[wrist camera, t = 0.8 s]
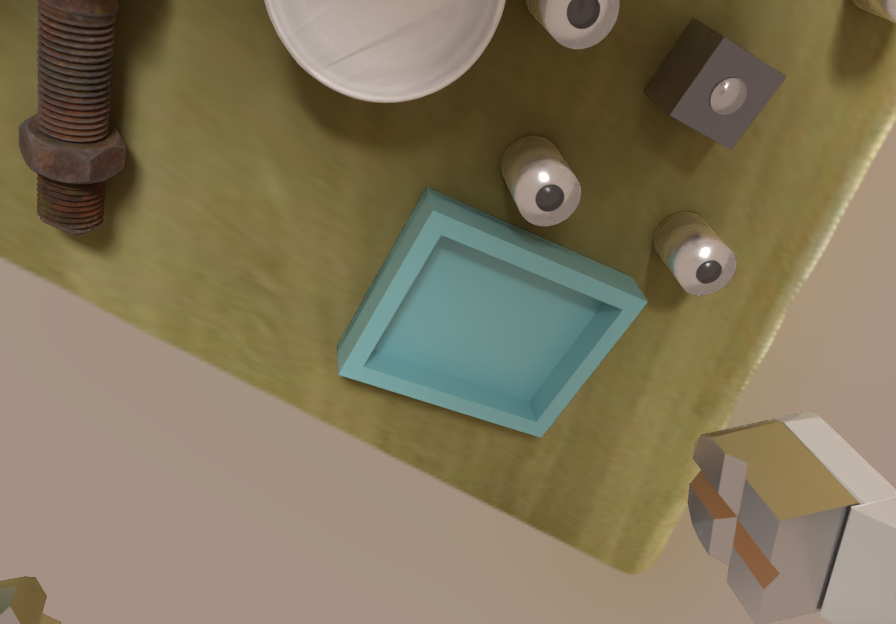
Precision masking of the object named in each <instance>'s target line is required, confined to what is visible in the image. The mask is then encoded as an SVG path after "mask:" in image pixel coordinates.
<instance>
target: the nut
mask: <svg viewBox="0 0 896 624" xmlns="http://www.w3.org/2000/svg"><path fill="white" fill-rule="evenodd" d="M786 77H787V76H785V75H783V74H782V73H780V72H779V71H777V70H776V69H774V68H772V67H771V66H769V65H768V64H766V63H765V62H763V61H761V60H760V59H758V58H757V57H755V56H754V55H752V54H750V53H749V52H747V51H746V50H744V49H743V48H741V47H739V46H738V45H736V44H735V43H733V42H732V41H730V40H728V39H727V38H725V37H724V36H722V35H721V34H719V33H717V32H716V31H714V30H712V29H711V28H709V27H708V26H706V25H704V24H703V23H701V22H699V21H698V20H696V19H695V18H692V20H691V21H690V23H689V24H688V26H687V27H686V29H685V30H684V32H683V33H682V35H681V36H680V38H679V39H678V41H677V42H676V44H675V45H674V47H673V48H672V49H671V51H670V52H669V54H668V55H667V57H666V58H665V60H664V61H663V63H662V64H661V66H660V67H659V69H658V70H657V72H656V73H655V75H654V76H653V78H652V79H651V81H650V82H649V84H648V85H647V87H646V88H645V90H644V92H645V93H646V94H647V95H648V96H649V97H650V98H651V99H652V100H653V101H654V102H655V103H657V104H658V105H659V106H660V107H661V108H662V109H663V110H664V111H665V112H666V113H667V114H668V115H669V116H671V117H673V118H675V119H677V120H678V121H680V122H682V123H684V124H686V125H687V126H689V127H691V128H693V129H694V130H696V131H698V132H700V133H702V134H703V135H705V136H707V137H709V138H711V139H712V140H714V141H716V142H718V143H720V144H721V145H723V146H725V147H727V148H728V149H730V150H731V149H732V148H733V147H734V145H735V144H736V143H737V141H738V140H739V139H740V137H741V136H742V135H743V133H744V132H745V131H746V129H747V128H748V127H749V125H750V124H751V123H752V121H753V120H754V119H755V118H756V116H757V115H758V114H759V112H760V111H761V110H762V108H763V107H764V106H765V104H766V103H767V102H768V100H769V99H770V98H771V96H772V95H773V94H774V92H775V91H776V90H777V89H778V87H779V86H780V85H781V83H782V82H783V81H784V79H785V78H786Z"/></svg>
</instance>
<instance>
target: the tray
mask: <svg viewBox="0 0 896 624" xmlns="http://www.w3.org/2000/svg"><path fill="white" fill-rule="evenodd" d="M647 303H648V301H647V299H646V298H645V296H644V295H643V293H642V292H641V290H640V289H639V287H638V285H637V284H636V282H635V281H634V279H633V278H632V277H631V276H628V275H626V274H624V273H621V272H619V271H617V270H615V269H612V268H610V267H608V266H605V265H603V264H601V263H599V262H596V261H594V260H592V259H589V258H587V257H585V256H583V255H580V254H578V253H576V252H573V251H571V250H569V249H567V248H564V247H562V246H560V245H557V244H555V243H553V242H551V241H548V240H546V239H544V238H542V237H539V236H537V235H535V234H532V233H530V232H528V231H526V230H523V229H521V228H519V227H516V226H514V225H512V224H510V223H507V222H505V221H503V220H500V219H498V218H496V217H494V216H491V215H489V214H487V213H484V212H482V211H480V210H478V209H475V208H473V207H471V206H468V205H466V204H464V203H462V202H459V201H457V200H455V199H452V198H450V197H448V196H446V195H443V194H441V193H439V192H436V191H434V190H432V189H430V188H427V187H426V189H425V190H424V192H423V194H422V196H421V197H420V199H419V201H418V203H417V205H416V206H415V208H414V210H413V212H412V214H411V215H410V217H409V219H408V221H407V222H406V224H405V226H404V228H403V230H402V231H401V233H400V235H399V237H398V238H397V240H396V242H395V244H394V246H393V247H392V249H391V251H390V253H389V255H388V256H387V258H386V260H385V262H384V263H383V265H382V267H381V269H380V271H379V272H378V274H377V276H376V278H375V279H374V281H373V283H372V285H371V287H370V288H369V290H368V292H367V294H366V295H365V297H364V299H363V301H362V303H361V304H360V306H359V308H358V310H357V312H356V313H355V315H354V317H353V319H352V320H351V322H350V324H349V326H348V328H347V329H346V331H345V333H344V335H343V336H342V338H341V340H340V342H339V344H338V345H337V358H338V375H341V376H344V377H347V378H350V379H354V380H357V381H360V382H363V383H366V384H370V385H373V386H376V387H379V388H382V389H386V390H389V391H392V392H395V393H399V394H402V395H405V396H408V397H411V398H415V399H418V400H421V401H424V402H427V403H431V404H434V405H437V406H440V407H443V408H447V409H450V410H453V411H456V412H460V413H463V414H466V415H469V416H472V417H476V418H479V419H482V420H485V421H488V422H492V423H495V424H498V425H501V426H504V427H508V428H511V429H514V430H517V431H521V432H524V433H527V434H530V435H533V436H537V437H540V438H541V437H542V436H543V435H544V434H545V432H546V431H547V430H548V429H549V427H550V426H551V425H552V423H553V422H554V421H555V420H556V418H557V417H558V416H559V415H560V413H561V412H562V411H563V409H564V408H565V407H566V406H567V404H568V403H569V402H570V401H571V399H572V398H573V397H574V396H575V394H576V393H577V392H578V390H579V389H580V388H581V387H582V385H583V384H584V383H585V382H586V380H587V379H588V378H589V376H590V375H591V374H592V373H593V371H594V370H595V369H596V368H597V366H598V365H599V364H600V362H601V361H602V360H603V359H604V357H605V356H606V355H607V354H608V352H609V351H610V350H611V348H612V347H613V346H614V345H615V343H616V342H617V341H618V340H619V338H620V337H621V336H622V334H623V333H624V332H625V331H626V329H627V328H628V327H629V326H630V324H631V323H632V322H633V321H634V319H635V318H636V317H637V315H638V314H639V313H640V312H641V310H642V309H643V308H644V307H645V305H646V304H647Z"/></svg>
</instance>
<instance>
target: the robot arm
mask: <svg viewBox="0 0 896 624" xmlns="http://www.w3.org/2000/svg"><path fill="white" fill-rule="evenodd" d="M693 459H694V461H695V462H696V463H697V465H698V466H699V468H700V469H701V470H700V472H699V473H698V474H697V475H696V477H695V478H694V479H693V480H692V481H691V483H690V484H689V495H688V507H689V512H690V516H691V521H692V525H693V527H694V529H695V531H696V534H697V536H698V538H699V540H700V542H701V543H702V545H703V546H704V548H705V549H706V551H707V553H708V554H709V555H711V556H712V557H714V558H717V559H718V560H720V561H722V562H723V563H725V564H727V565H729V570H728V577H727V583H728V585H729V586H730V588H731V589H732V590H733V592H734V593H735V595H736V596H737V598H738V599H739V601H740V602H741V604H742V605H743V607H744V608H745V610H746V611H747V613H748V614H749V616H750V617H751V619H752V620H753V622H754V623H755V624H766V623H771V622H775V621H779V620H784V619H788V618H793V617H798V616H802V615H807V614H811V613H816V612H820V611H821V612H820V616H821V617H823V618H824V619H826V620H827V621H829V622H830V623H832V624H896V489H895V488H894V487H892V485H890V484H889V483H888V482H887V481H886V480H885V479H884V478H883V477H882V476H881V475H880V474H879V473H878V472H877V471H876V470H875V469H874V468H872V467H871V465H869V463H868V462H867V461H865V460H864V459H863V458H862V457H861V456H860V455H859V454H858V453H857V452H856V451H855V450H854V449H853V448H852V447H851V446H850V445H849V444H848V443H847V442H846V441H845V440H843V438H841V437H840V436H839V435H838V434H837V433H836V432H835V431H834V430H833V429H832V428H831V427H830V426H829V425H828V424H827V423H826V422H825V421H824V420H823V419H822V418H821V417H819V416H818V415H816V414H814V413H811V412H809V411H807V412H802V413H797V414H793V415H788V416H784V417H779V418H775V419H772V420H766V421H761V422H757V423H752V424H748V425H743V426H739V427H734V428H730V429H725V430H720V431H716V432H711V433H707V434H702V435H700V437H699V438H698V440H697V441H696V443H695V447H694V454H693ZM46 598H47V596H46V594H45V592H44V591H43V589H42V587H41V586H40V584H39V582H38V581H37V579H36V578H35V577H26V576H25V577H19V578H14V579H9V580H3V581H0V624H61V622H60V621H58V620H56V619H54V618H52V617H49V616H47V615H45V614H43V613H42V612H43V608H44V605H45V601H46Z"/></svg>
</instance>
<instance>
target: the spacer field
mask: <svg viewBox="0 0 896 624" xmlns="http://www.w3.org/2000/svg"><path fill="white" fill-rule="evenodd" d="M851 1H852V3H853V4H854V5H855V6H856V7H858V8H860V9H863V10H865V11H867V12H870V13H872V14H875V15H877V16H879V17H882V18H884V19H887V20H889V21H891V22H894V23H896V0H851ZM525 2H526V5H527V7H528V10H529V11H530V13H531V14H532V15H533V17H534V18H535V19H536V20H537V21H538V22H539V23H540V24H541V25H542V26H543V27H544V28H545V29H546V30H547V31H548V33H549V34H550V35H551V36H552V37H553V38H554V39H555V40H556V41H557V42H558V43H560V44H561V45H563V46H565V47H567V48H571V49H585V48H588V47H591V46H594V45H595V44H597V43H599V42H600V41H602V40H603V39H604V38H605V37H606V36H607V35H608V34H609V32H610V31H611V30H612V28H613V26H614V25H615V22H616V20H617V17H618V13H619V0H525ZM501 172H502V176H503V178H504V180H505V182H506V184H507V186H508V188H509V190H510V192H511V194H512V197H513V199H514V201H515V203H516V205H517V207H518V209H519V211H520V213H521V215H522V216H523V217H524V218H525V219H526V220H527V221H528V222H530V223H532V224H534V225H538V226H552V225H556V224H558V223H560V222H562V221H564V220H566V219H567V218H568V217H569V216H571V214H572V213H573V212H574V211H575V210H576V208H577V206H578V204H579V202H580V198H581V187H580V183H579V181H578V179H577V178H576V176H575V175H574V173H573V172H572V170H571V169H570V167H569V166H568V164H567V163H566V161H565V160H564V158H563V157H562V155H561V154H560V152H559V151H558V149H557V148H556V146H555V145H554V144H553V143H552V142H551V141H550V140H549V139H547V138H545V137H542V136H537V135H531V136H526V137H522V138H520V139H518V140H516V141H515V142H514V143H512V144H511V145H510V146H509V147H508V148H507V150H506V151H505V153H504V155H503V158H502V161H501ZM653 245H654V248H655V250H656V252H657V253H658V255H659V256H660V257H661V259H662V260H663V262H664V263H665V264H666V266H667V267H668V268H669V270H670V271H671V272H672V274H673V275H674V277H675V278H676V279H677V281H678V282H679V283H680V285H681V286H682V287H683V289H684V290H685V291H686V292H688V293H689V294H692V295H696V296H704V295H709V294H712V293H714V292H716V291H718V290H720V289H721V288H723V287H724V286H725V285H726V284H727V283H728V282H729V281H730V280H731V279H732V277H733V275H734V273H735V271H736V266H737V261H736V257H735V255H734V253H733V252H732V251H731V250H730V249H729V248H728V246H727V245H726V244H725V243H724V242H723V241H722V240H721V239H720V237H719V236H718V235H717V234H716V233H715V232H714V231H713V230H712V229H711V227H710V226H709V225H708V224H707V223H706V222H705V221H704V220H703V218H702V217H701V216H700V215H698V214H697V213H694V212H691V211H682V212H678V213H675V214H672V215H670V216H669V217H667V218H666V219H665V220H663V221H662V222H661V223H660V225H659V226H658V227H657V229H656V231H655V233H654V237H653Z"/></svg>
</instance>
